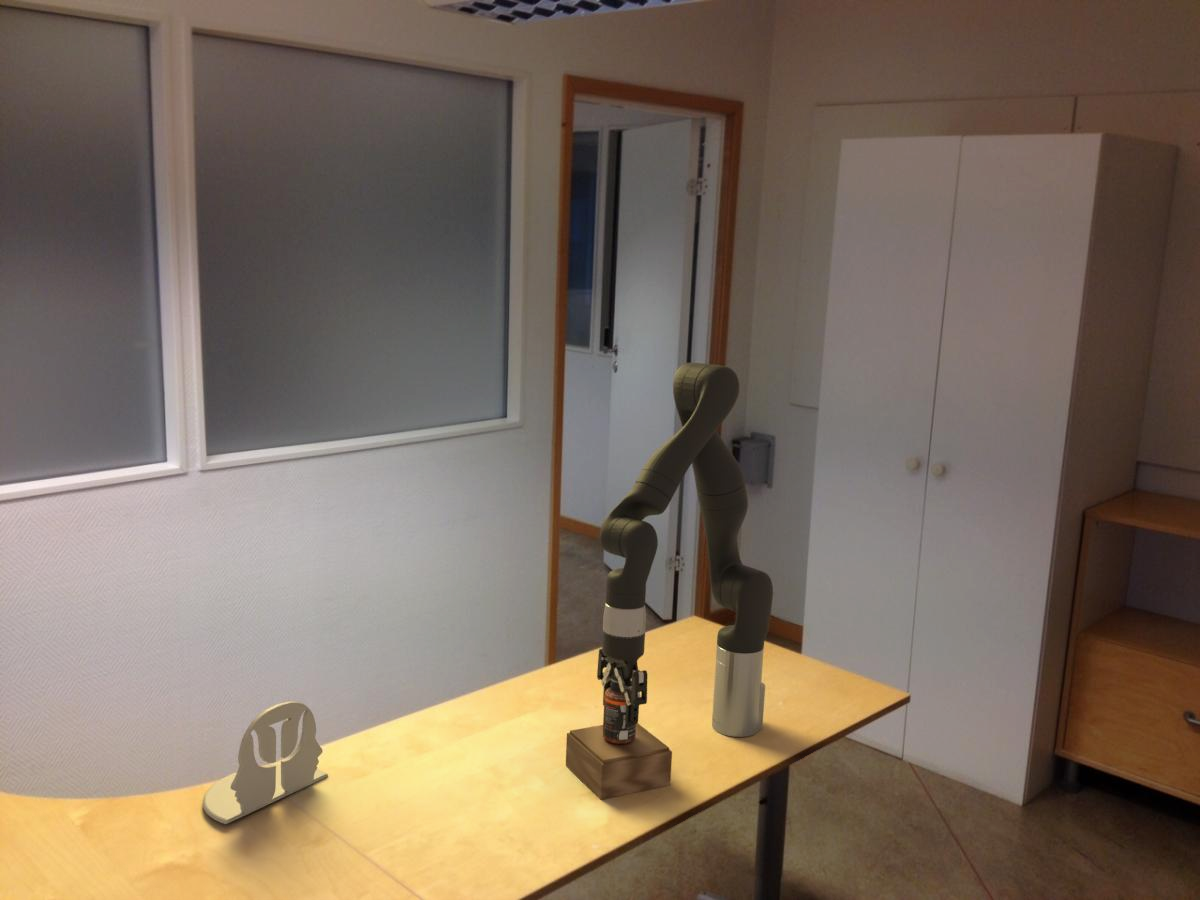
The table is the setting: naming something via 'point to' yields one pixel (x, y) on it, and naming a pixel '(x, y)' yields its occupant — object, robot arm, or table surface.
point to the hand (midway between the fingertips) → (620, 714)
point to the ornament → (268, 781)
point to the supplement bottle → (616, 716)
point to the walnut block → (618, 762)
